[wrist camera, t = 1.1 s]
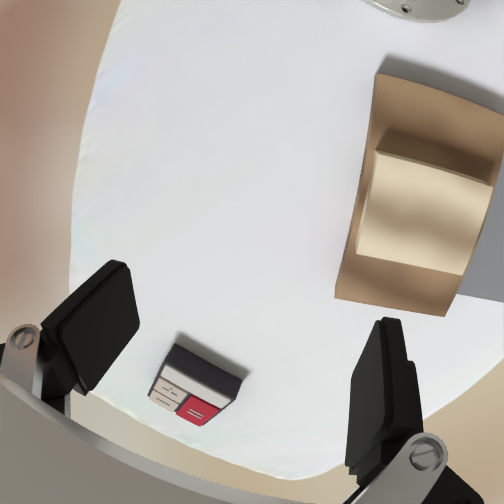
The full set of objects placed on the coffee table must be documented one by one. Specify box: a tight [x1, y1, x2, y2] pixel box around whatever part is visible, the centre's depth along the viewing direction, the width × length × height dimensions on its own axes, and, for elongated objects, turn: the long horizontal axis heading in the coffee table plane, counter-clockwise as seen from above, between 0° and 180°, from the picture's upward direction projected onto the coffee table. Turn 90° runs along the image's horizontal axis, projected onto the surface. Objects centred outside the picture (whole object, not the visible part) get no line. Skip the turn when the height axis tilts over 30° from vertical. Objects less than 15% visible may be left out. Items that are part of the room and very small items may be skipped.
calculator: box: [148, 344, 242, 426], centre depth 43 cm, size 11×4×15 cm
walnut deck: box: [335, 73, 504, 317], centre depth 23 cm, size 20×12×2 cm, turn 176°
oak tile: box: [355, 150, 493, 275], centre depth 21 cm, size 8×10×2 cm
